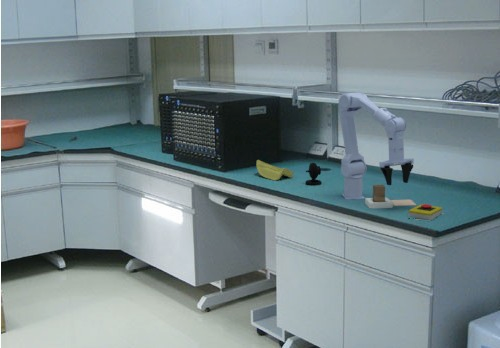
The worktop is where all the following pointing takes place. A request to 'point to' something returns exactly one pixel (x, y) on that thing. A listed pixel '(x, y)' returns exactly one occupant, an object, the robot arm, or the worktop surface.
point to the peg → (378, 193)
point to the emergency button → (425, 212)
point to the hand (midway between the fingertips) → (397, 183)
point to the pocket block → (378, 203)
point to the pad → (402, 202)
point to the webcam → (313, 174)
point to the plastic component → (272, 171)
